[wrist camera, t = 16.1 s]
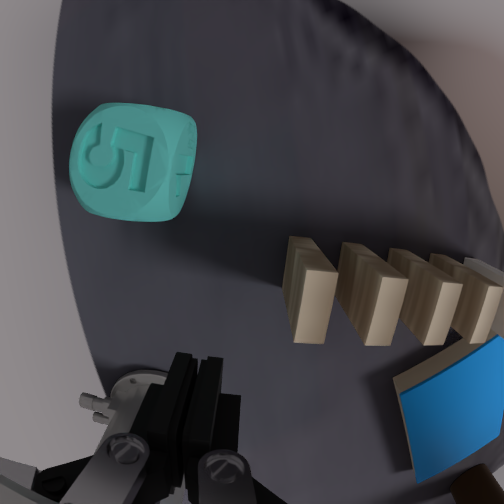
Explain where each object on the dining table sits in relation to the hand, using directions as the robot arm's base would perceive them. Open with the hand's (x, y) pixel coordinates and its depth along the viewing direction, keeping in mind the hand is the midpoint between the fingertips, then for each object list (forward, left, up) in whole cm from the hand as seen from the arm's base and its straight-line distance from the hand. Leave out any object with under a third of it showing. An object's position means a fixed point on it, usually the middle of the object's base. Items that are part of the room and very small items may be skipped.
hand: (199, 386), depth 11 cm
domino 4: (+21, 0, -19) cm, 28 cm away
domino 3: (+16, 0, -19) cm, 25 cm away
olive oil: (+53, -44, -19) cm, 72 cm away
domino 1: (+6, 0, -19) cm, 20 cm away
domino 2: (+11, 0, -19) cm, 22 cm away
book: (+33, -19, -20) cm, 43 cm away
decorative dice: (-8, +8, -19) cm, 22 cm away
